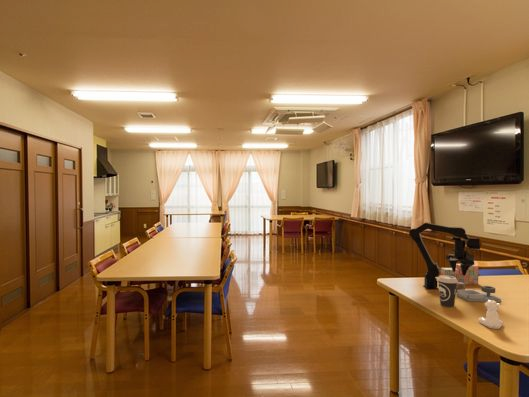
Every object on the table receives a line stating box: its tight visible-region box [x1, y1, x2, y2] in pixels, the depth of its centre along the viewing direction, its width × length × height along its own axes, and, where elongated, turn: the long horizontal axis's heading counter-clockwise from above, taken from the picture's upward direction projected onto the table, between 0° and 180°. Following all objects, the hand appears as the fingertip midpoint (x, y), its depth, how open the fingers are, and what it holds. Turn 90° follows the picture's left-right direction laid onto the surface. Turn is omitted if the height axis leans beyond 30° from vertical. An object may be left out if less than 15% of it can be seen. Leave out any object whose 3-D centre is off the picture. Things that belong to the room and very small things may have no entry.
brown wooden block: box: [456, 282, 466, 293], centre depth 194 cm, size 6×4×6 cm
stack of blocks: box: [440, 263, 479, 285], centre depth 215 cm, size 21×6×12 cm, turn 85°
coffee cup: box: [437, 274, 458, 308], centre depth 170 cm, size 10×10×15 cm
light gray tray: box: [455, 289, 502, 302], centre depth 182 cm, size 18×11×5 cm, turn 90°
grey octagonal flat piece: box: [481, 285, 496, 294], centre depth 182 cm, size 6×6×2 cm
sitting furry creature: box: [478, 300, 504, 330], centre depth 142 cm, size 10×9×12 cm
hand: (459, 273), depth 194 cm, fingers open, 9 cm apart
